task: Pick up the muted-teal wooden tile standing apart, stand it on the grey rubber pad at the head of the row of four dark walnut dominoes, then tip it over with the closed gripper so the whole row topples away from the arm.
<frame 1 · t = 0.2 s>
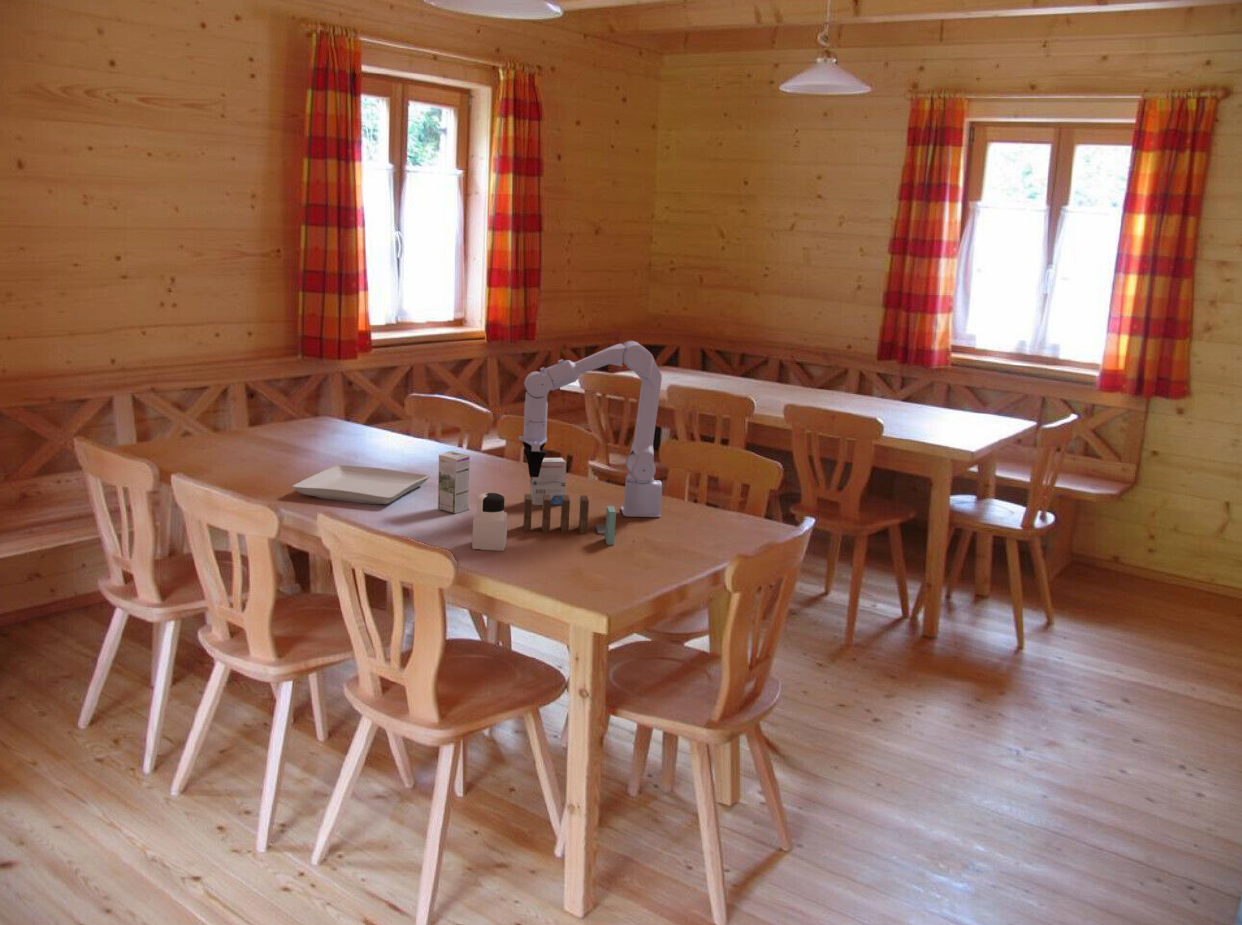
hand: (533, 473, 275), 10 cm above the table, fingers open, 7 cm apart
domino 5: (527, 528, 263), on the table
ink box: (546, 503, 287), on the table
slot pad: (605, 530, 265), on the table
domino 4: (545, 529, 264), on the table
domino 3: (564, 529, 264), on the table
teal tile: (609, 541, 257), on the table
domino 2: (582, 530, 265), on the table
square plate: (363, 493, 288), on the table
medicine bottle: (489, 546, 248), on the table
syrup box: (453, 510, 275), on the table
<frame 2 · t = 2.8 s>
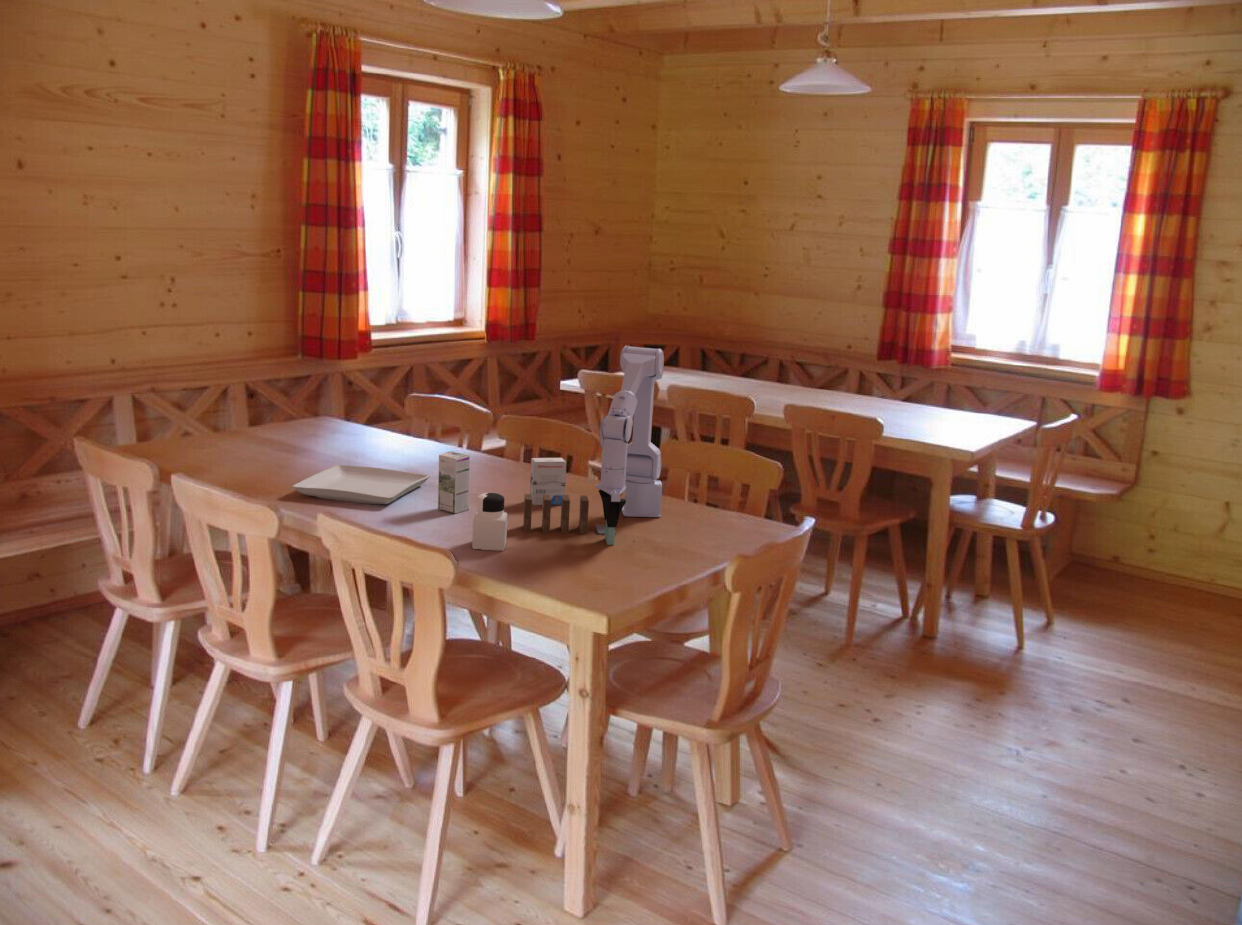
hand: (610, 523, 256), 4 cm above the table, fingers closed on teal tile, 5 cm apart
teal tile: (609, 541, 257), on the table, touching gripper
everything else where it was.
when the fingers open (5 cm above the table, at t = 5.6 s): teal tile stays where it is, resting on slot pad.
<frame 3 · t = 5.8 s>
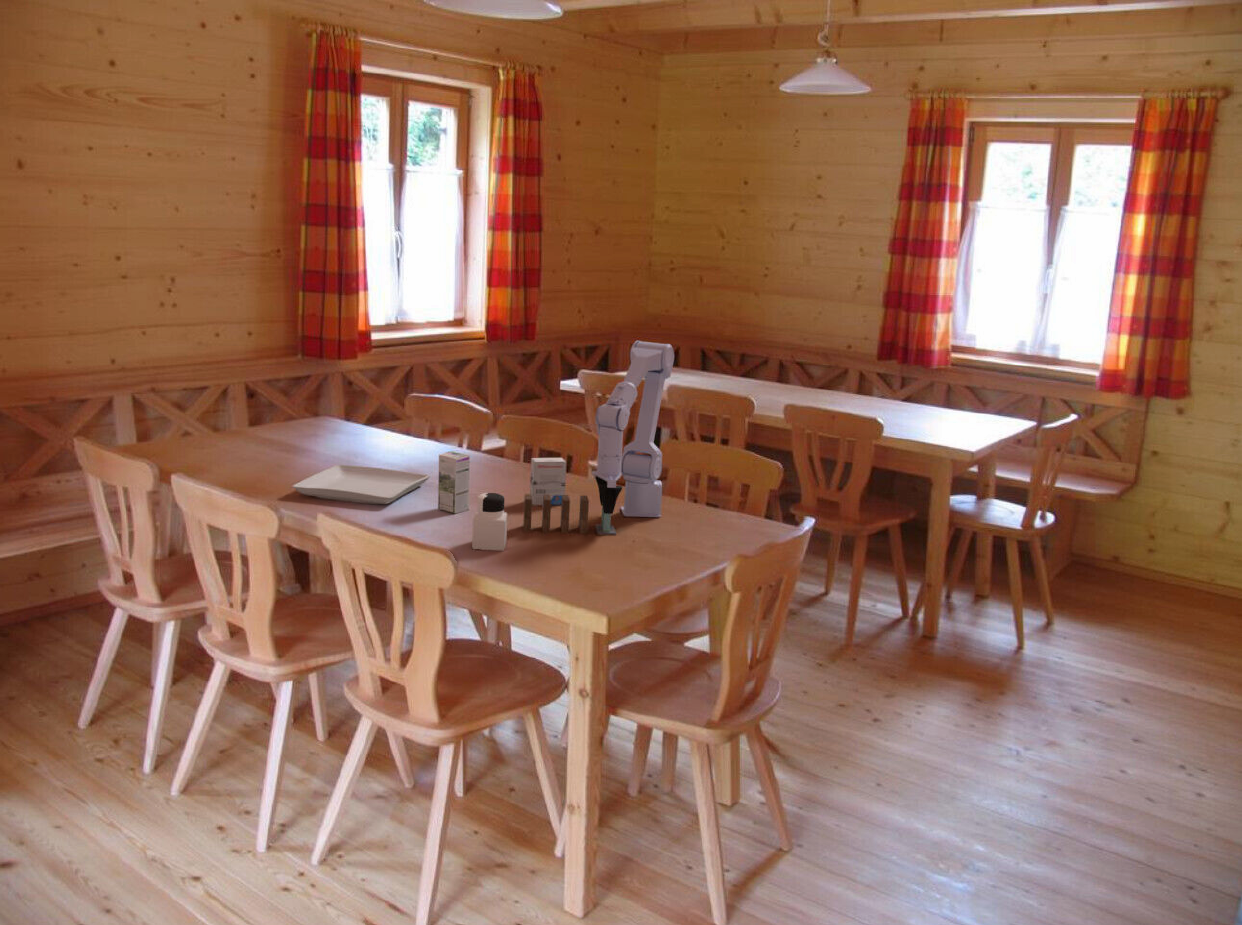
hand: (606, 509, 264), 5 cm above the table, fingers open, 6 cm apart
teal tile: (605, 528, 265), resting on slot pad
everything else where it was.
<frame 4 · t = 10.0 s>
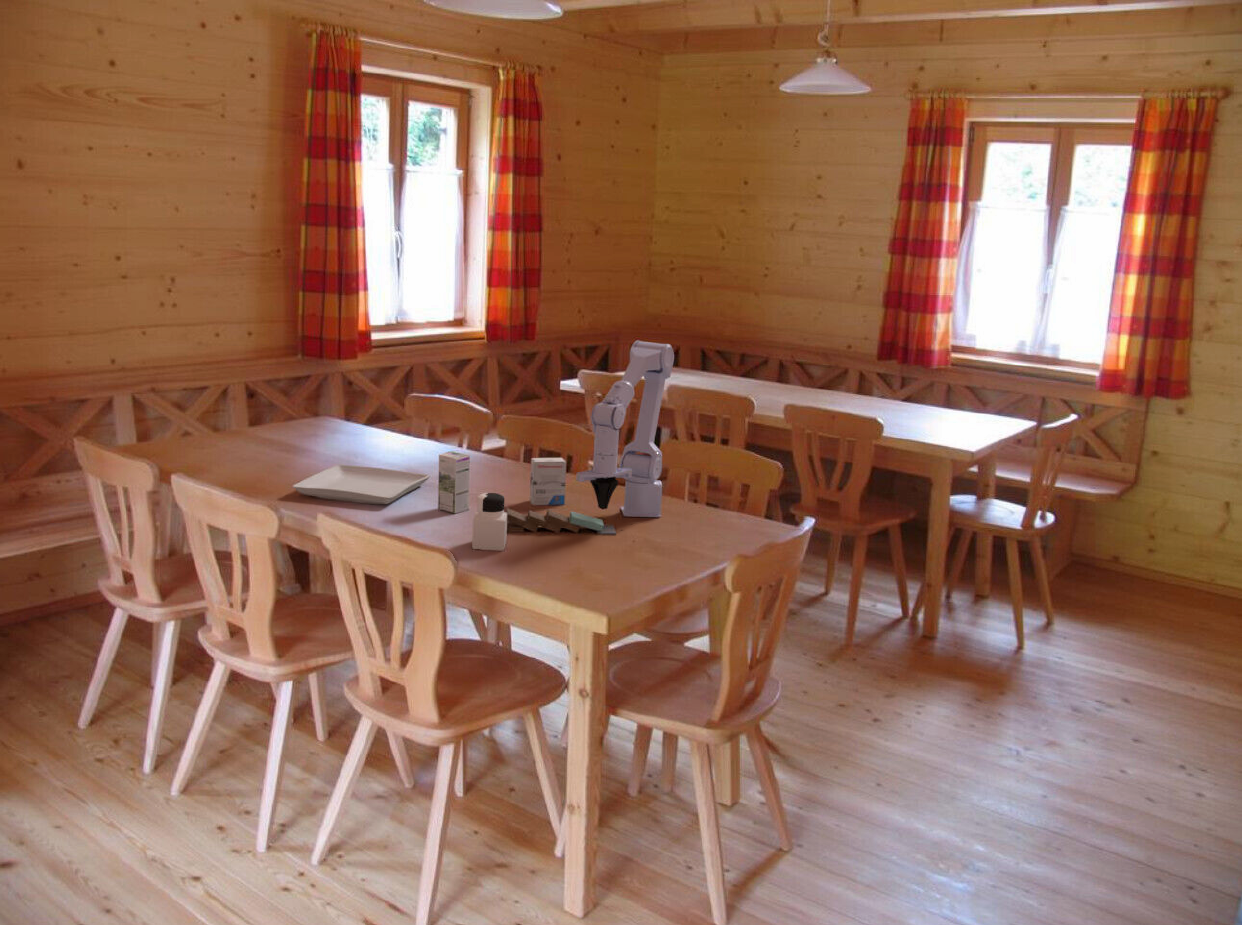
hand: (602, 508, 264), 6 cm above the table, fingers closed
domino 5: (523, 527, 263), on the table, tilted 90°, touching domino 4
domino 4: (536, 526, 263), point 1 cm above the table, tilted 68°, touching domino 3, domino 5
domino 3: (559, 526, 264), point 1 cm above the table, tilted 71°, touching domino 2, domino 4
teal tile: (602, 525, 265), point 1 cm above the table, tilted 76°, touching domino 2, slot pad
domino 2: (577, 526, 264), point 1 cm above the table, tilted 70°, touching domino 3, teal tile
everything else where it was.
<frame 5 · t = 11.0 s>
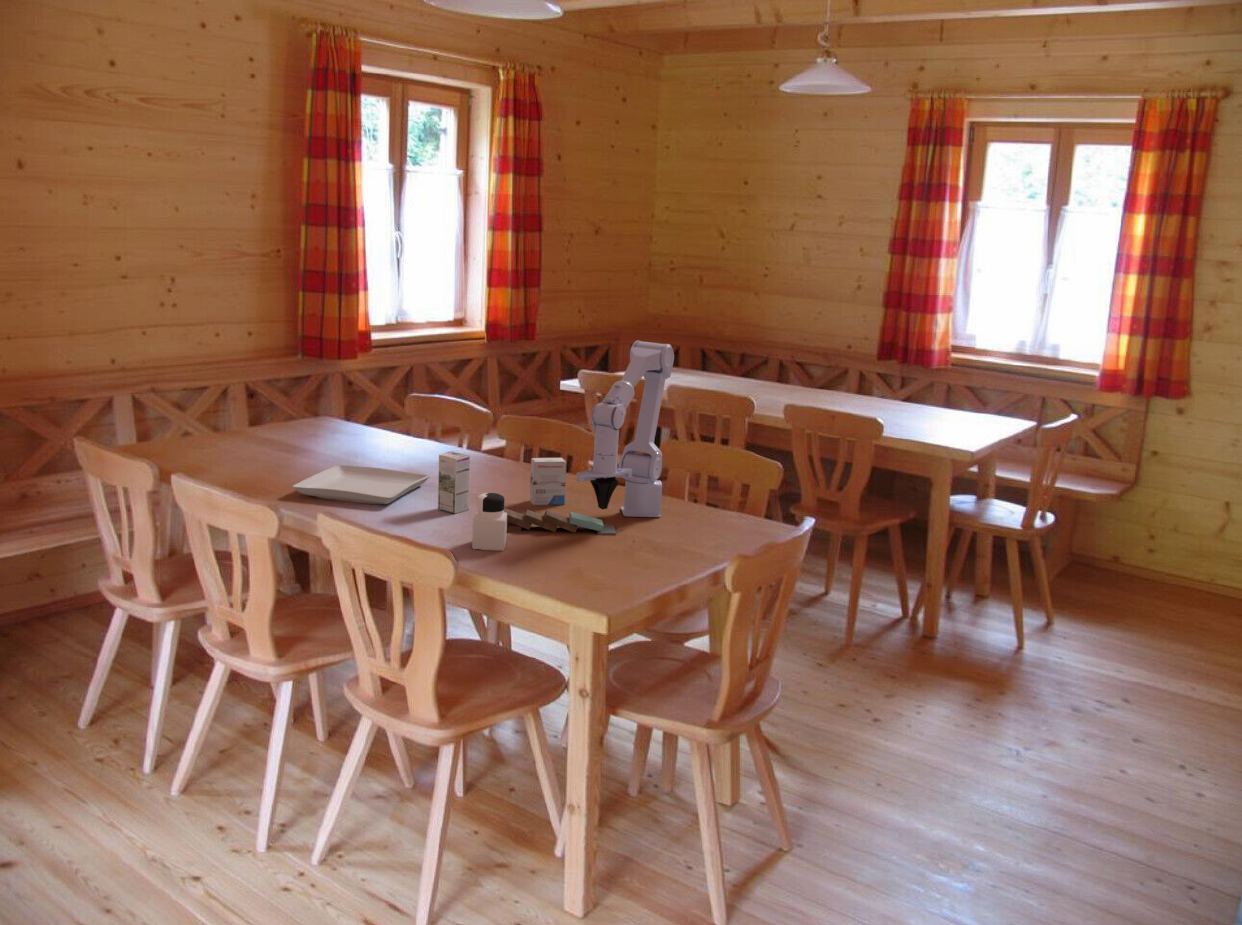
hand: (602, 508, 264), 6 cm above the table, fingers closed
domino 4: (531, 524, 263), point 1 cm above the table, tilted 73°, touching domino 3, domino 5
domino 3: (556, 526, 264), point 1 cm above the table, tilted 72°, touching domino 4
domino 2: (575, 527, 264), point 1 cm above the table, tilted 69°, touching teal tile
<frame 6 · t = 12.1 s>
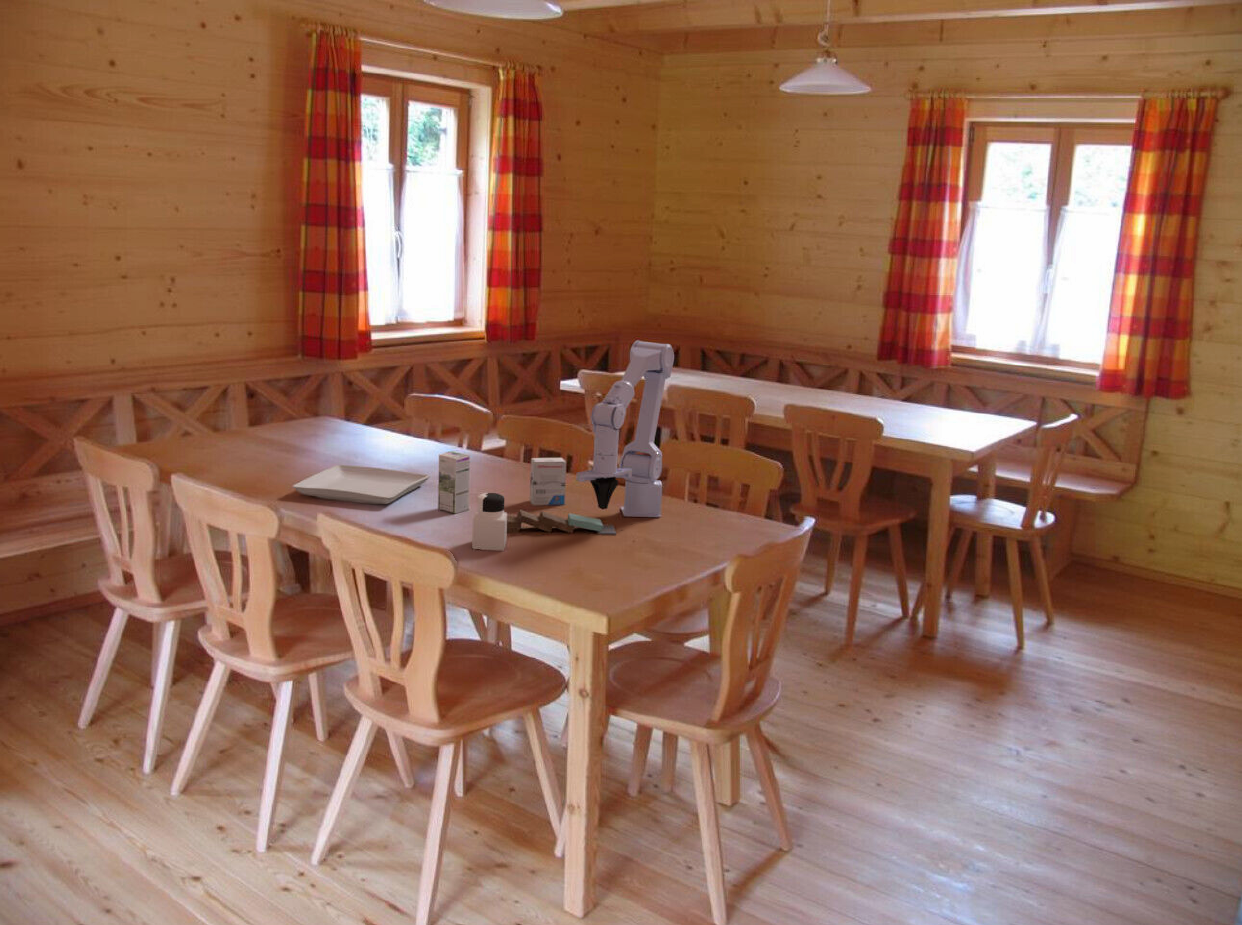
hand: (602, 508, 264), 6 cm above the table, fingers closed
domino 4: (521, 522, 262), point 2 cm above the table, tilted 90°, touching domino 3, domino 5
domino 3: (550, 526, 263), point 1 cm above the table, tilted 70°, touching domino 2, domino 4
domino 2: (571, 527, 264), point 1 cm above the table, tilted 71°, touching domino 3, teal tile
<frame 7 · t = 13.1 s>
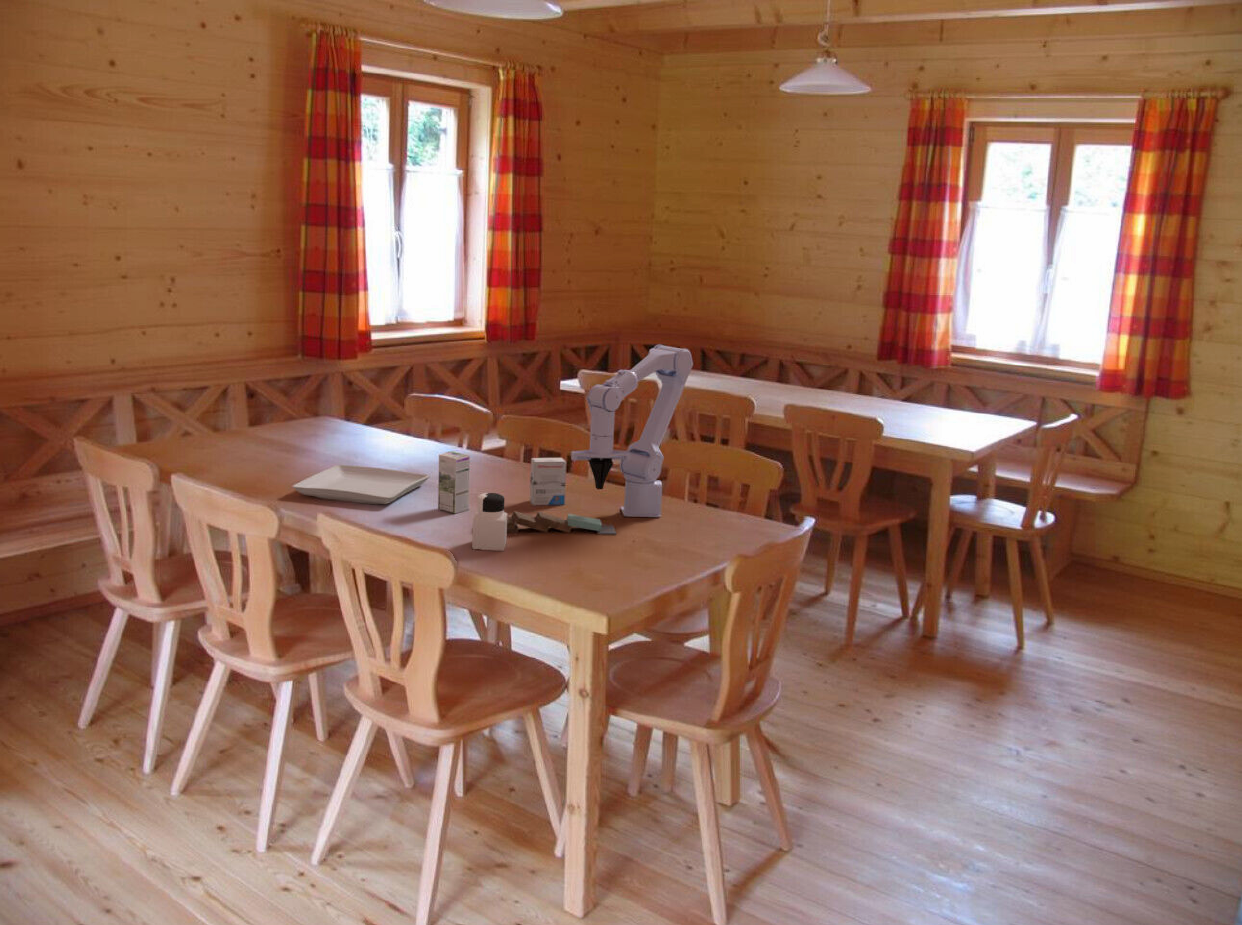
hand: (599, 488, 270), 9 cm above the table, fingers closed
domino 4: (515, 522, 261), point 2 cm above the table, tilted 90°, touching domino 3, domino 5
domino 3: (545, 525, 263), point 1 cm above the table, tilted 72°, touching domino 2, domino 4
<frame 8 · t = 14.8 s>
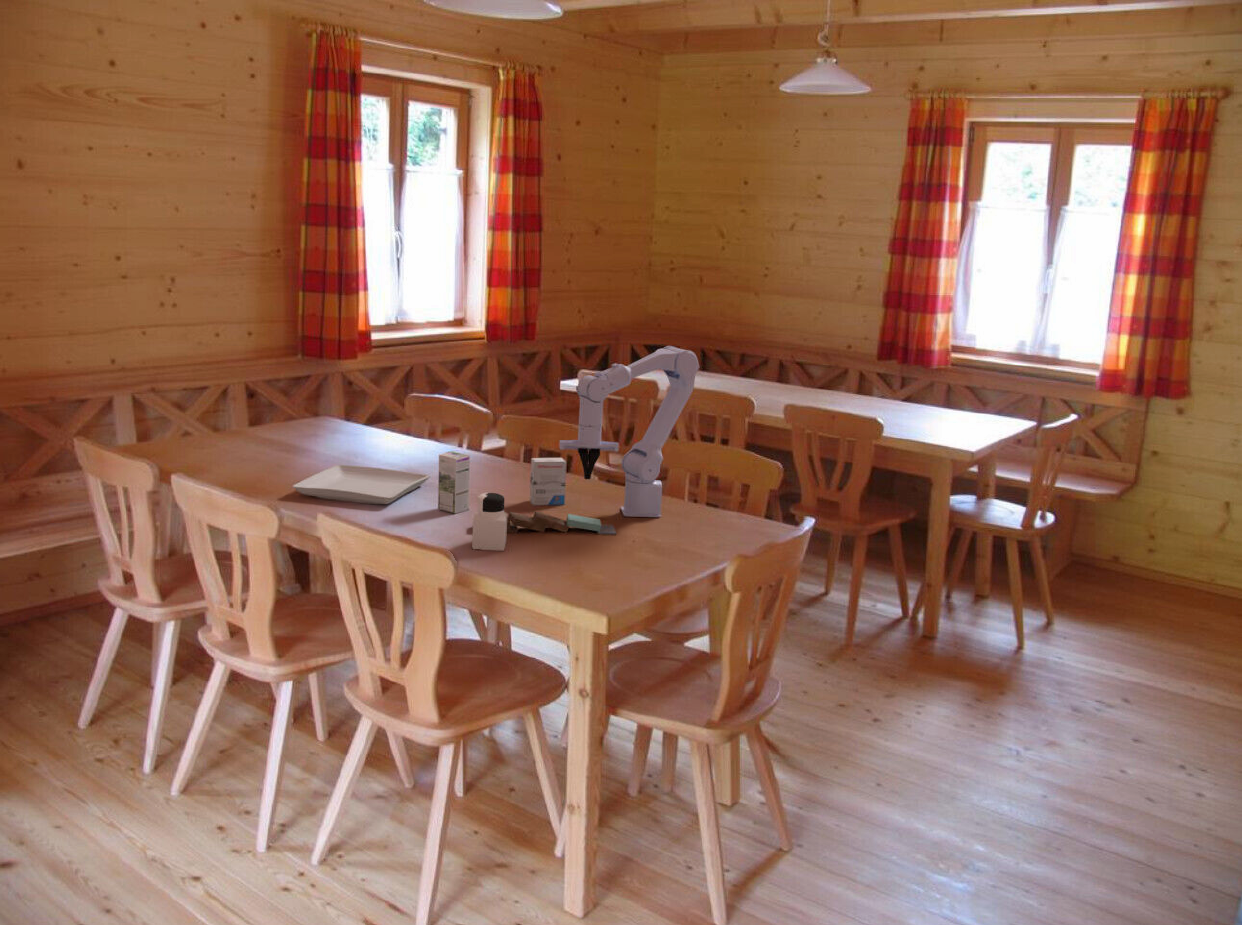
hand: (587, 478, 272), 10 cm above the table, fingers closed
domino 5: (516, 529, 262), on the table, tilted 90°
domino 4: (509, 523, 261), point 2 cm above the table, tilted 90°, touching domino 3
at the end: domino 5 tilted 90°; teal tile moved 9.2 cm from its start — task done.
